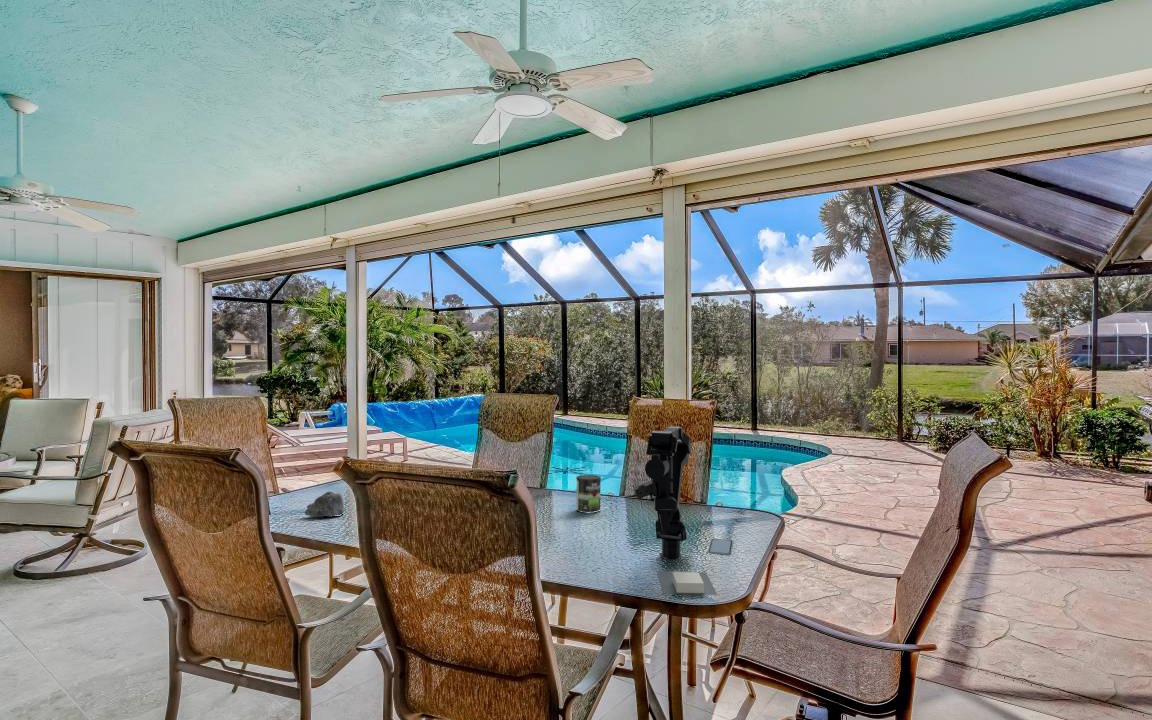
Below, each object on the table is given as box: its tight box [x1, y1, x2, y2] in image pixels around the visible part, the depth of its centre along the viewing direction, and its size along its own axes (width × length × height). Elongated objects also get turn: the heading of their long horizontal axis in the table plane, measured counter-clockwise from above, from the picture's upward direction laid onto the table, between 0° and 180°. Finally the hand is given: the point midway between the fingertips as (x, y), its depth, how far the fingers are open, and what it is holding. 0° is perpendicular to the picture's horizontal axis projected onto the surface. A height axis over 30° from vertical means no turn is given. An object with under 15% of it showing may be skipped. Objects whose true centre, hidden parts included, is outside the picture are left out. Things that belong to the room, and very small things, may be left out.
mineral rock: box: [304, 491, 345, 518], centre depth 231 cm, size 13×11×10 cm
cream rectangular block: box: [672, 571, 704, 595], centre depth 153 cm, size 3×7×8 cm
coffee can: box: [575, 474, 602, 512], centre depth 242 cm, size 10×10×14 cm
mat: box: [656, 570, 718, 596], centre depth 158 cm, size 16×14×1 cm
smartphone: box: [707, 538, 734, 556], centre depth 192 cm, size 7×1×15 cm
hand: (662, 526), depth 169 cm, fingers open, 9 cm apart
